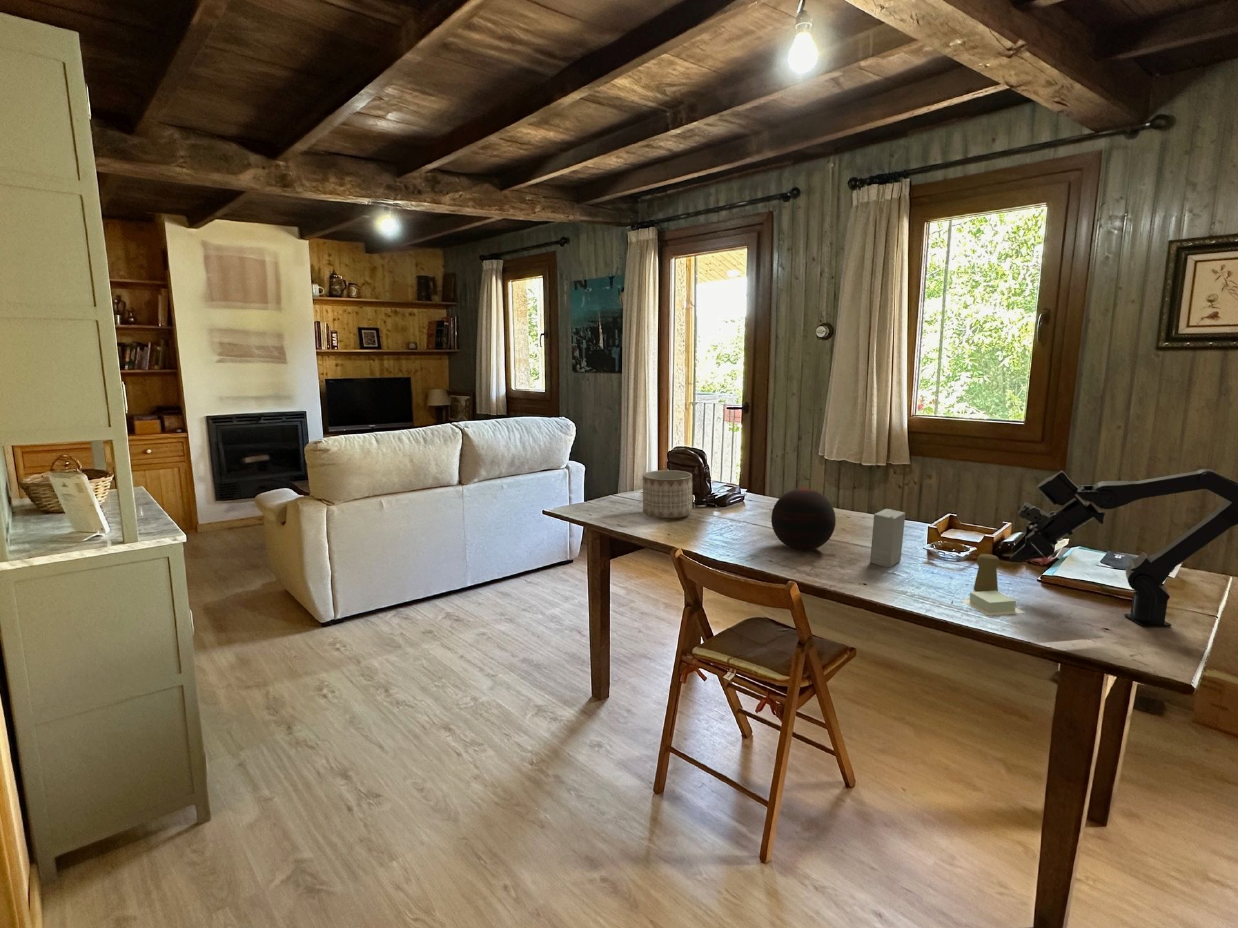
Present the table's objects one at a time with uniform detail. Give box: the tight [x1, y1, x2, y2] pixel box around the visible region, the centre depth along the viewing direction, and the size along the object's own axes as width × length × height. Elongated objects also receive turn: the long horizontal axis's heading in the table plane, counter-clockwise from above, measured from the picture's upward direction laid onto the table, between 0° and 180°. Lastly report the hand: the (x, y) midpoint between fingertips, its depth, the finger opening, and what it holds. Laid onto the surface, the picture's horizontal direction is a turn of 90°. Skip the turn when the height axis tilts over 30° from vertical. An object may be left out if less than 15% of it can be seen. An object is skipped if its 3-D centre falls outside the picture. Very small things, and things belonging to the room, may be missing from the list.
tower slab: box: [960, 598, 1026, 616], centre depth 164 cm, size 10×10×2 cm
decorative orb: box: [770, 488, 837, 552], centre depth 214 cm, size 20×20×20 cm
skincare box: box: [869, 508, 906, 568], centre depth 200 cm, size 8×7×16 cm
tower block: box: [969, 590, 1017, 613], centre depth 163 cm, size 7×7×2 cm
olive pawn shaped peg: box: [973, 553, 1000, 592], centre depth 174 cm, size 6×6×11 cm
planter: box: [642, 469, 693, 520], centre depth 261 cm, size 19×19×16 cm
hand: (1011, 555), depth 170 cm, fingers open, 9 cm apart
